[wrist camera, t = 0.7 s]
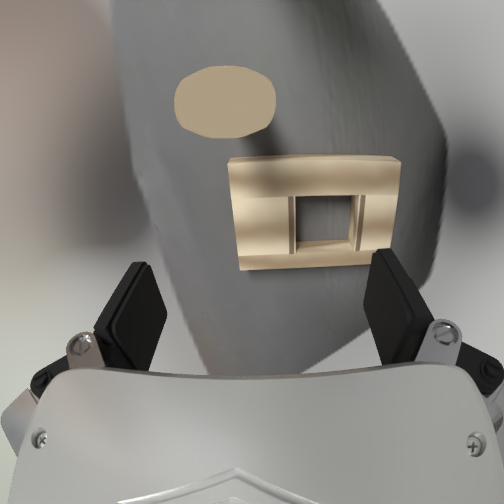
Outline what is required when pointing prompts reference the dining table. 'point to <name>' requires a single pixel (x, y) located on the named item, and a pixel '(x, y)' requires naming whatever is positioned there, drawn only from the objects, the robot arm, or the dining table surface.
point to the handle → (225, 102)
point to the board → (311, 184)
